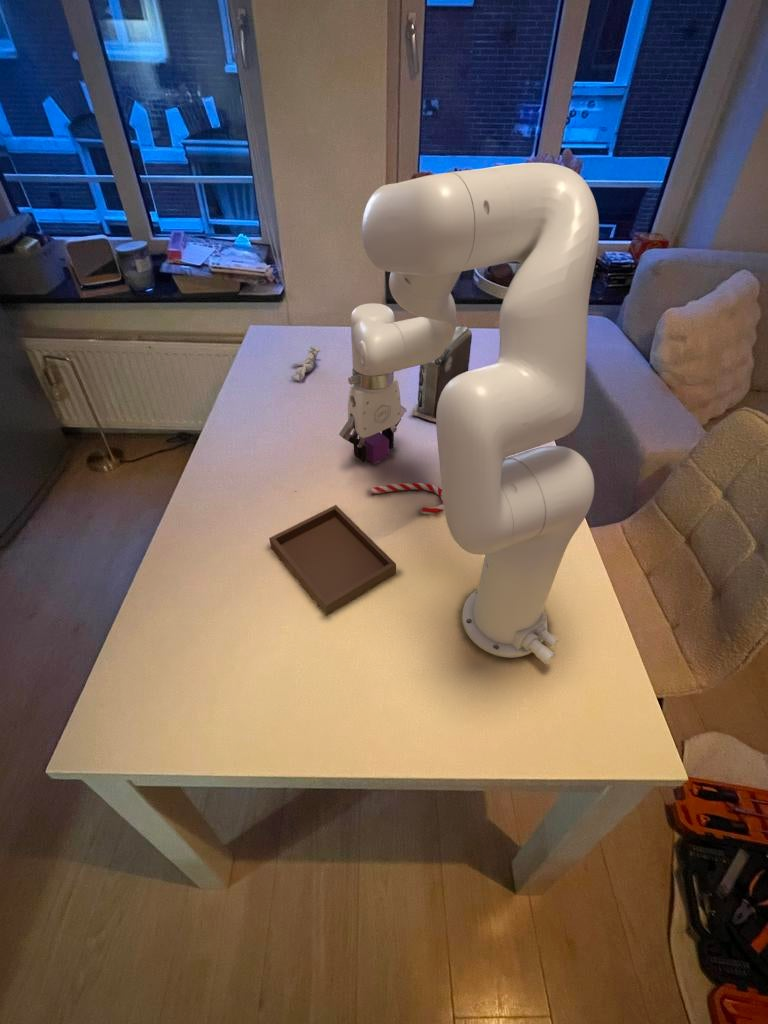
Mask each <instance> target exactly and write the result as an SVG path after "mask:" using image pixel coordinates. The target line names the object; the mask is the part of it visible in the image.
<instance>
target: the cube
mask: <svg viewBox="0 0 768 1024" xmlns="http://www.w3.org/2000/svg"><path fill="white" fill-rule="evenodd" d="M359 437H360V436H359V435H358V438H359ZM363 445H365V447H366V460H368V461H369V462H371V463H372V464H373V465H374V464H377V463H379V462H381V461H383V460H385V459H387V458H389V457H390V449H389V439H388V438H387V437H385V436H384V435H383V434H382V432H378V433H376V434H374V435H372V436H369V437H366V438H365V441H364V444H363Z"/></svg>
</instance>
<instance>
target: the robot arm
mask: <svg viewBox="0 0 768 1024" xmlns="http://www.w3.org/2000/svg"><path fill="white" fill-rule="evenodd" d="M598 211H599V210H598V206H597V203H596V200H595V197H594V194H593V192H592V189H591V187H590V186H589V185H588V183H587V182H586V181H585V179H584V178H583V177H582V176H581V175H580V174H578V173H577V172H576V171H575V170H573V169H571V168H568V167H566V166H565V165H560V164H556V163H550V162H523V163H512V164H503V165H496V166H491V167H485V168H477V169H467V170H459V171H449V172H443V173H434V174H428V175H425V176H424V175H423V176H420V177H416V178H411V179H408V180H404V181H400V182H395V183H389V184H384V185H381V186H380V187H378V188H377V189H376V190H375V191H374V192H373V193H372V194H371V196H370V197H369V199H368V201H367V203H366V206H365V208H364V211H363V216H362V221H361V237H362V243H363V248H364V251H365V254H366V256H367V257H368V259H369V261H370V262H371V263H372V265H374V266H375V267H376V268H378V269H379V270H381V271H384V272H387V273H390V274H389V279H388V288H389V291H390V294H391V296H392V298H393V299H394V301H395V302H396V303H397V305H398V306H400V307H401V308H402V309H403V310H404V311H406V312H408V313H410V314H413V315H415V316H418V317H413V318H408V319H402V320H398V321H396V320H395V319H396V318H395V314H394V311H393V310H392V308H391V307H389V306H387V305H385V304H382V303H376V302H369V303H368V302H367V303H363V304H360V305H358V306H356V307H355V308H354V309H353V310H352V311H351V314H350V336H351V337H350V339H351V361H352V371H351V374H352V375H351V376H350V377H348V378H347V382H348V384H349V385H350V387H349V391H348V400H347V421H346V423H345V424H344V426H343V427H342V429H341V430H340V431H339V433H338V435H339V436H340V437H341V438H342V439H343V440H345V441H347V442H349V443H350V444H352V445H353V446H352V447H353V456H354V457H355V458H356V459H358V461H360V462H361V463H365V462H367V458H366V447H365V445H363V444H364V441H365V438H366V437H369V436H372V435H374V434H376V433H378V432H380V433H381V434H383V435H384V436H385V437H387V438H388V439H389V451H390V450H394V441H395V433H396V432H397V429H398V428H397V427H398V426H399V423H401V421H402V418H403V417H404V415H405V414H406V412H407V408H406V407H404V406H403V405H402V403H401V394H400V393H401V392H400V386H399V382H398V378H397V376H395V375H394V374H395V372H399V371H402V370H405V369H410V368H415V367H418V366H420V365H423V364H427V363H430V362H433V361H434V360H436V359H437V358H439V357H440V356H441V355H442V354H443V352H444V351H445V349H446V348H447V346H448V344H449V343H450V341H451V340H452V338H453V336H454V333H455V330H456V327H457V318H458V317H457V307H456V303H455V299H454V297H453V295H452V291H453V289H454V287H455V286H456V284H457V281H458V279H459V278H460V275H461V274H462V272H466V271H473V270H476V269H481V268H487V267H492V266H497V265H501V264H507V263H513V262H517V263H519V264H520V266H519V268H518V270H517V272H516V273H515V274H514V276H513V278H512V280H511V281H510V283H509V285H508V288H507V290H506V292H505V295H504V297H503V300H502V303H501V306H500V310H499V315H498V316H499V317H498V328H499V329H498V331H499V350H498V358H497V360H496V361H495V362H494V363H493V364H490V365H489V364H488V365H485V366H482V367H478V368H474V369H470V370H468V371H467V372H464V373H462V374H460V375H458V376H456V377H455V378H453V379H452V380H451V381H450V382H449V383H448V384H447V385H446V386H445V388H444V389H443V391H442V393H441V395H440V398H439V401H438V405H437V412H436V422H435V424H436V425H435V428H436V440H437V450H438V463H439V473H440V485H441V489H442V496H443V505H444V510H443V511H444V517H445V520H446V525H447V527H448V530H449V533H450V536H451V537H452V538H453V540H454V542H455V543H456V544H457V546H458V547H460V549H461V550H463V551H464V552H466V553H468V554H472V555H477V556H478V555H479V556H483V555H484V558H483V562H482V568H481V572H480V575H479V576H480V577H479V581H478V586H477V589H476V590H474V591H473V592H472V593H471V594H469V596H468V597H467V598H466V600H465V601H464V605H463V608H462V614H461V620H462V625H463V628H464V631H465V632H466V634H467V636H468V637H469V638H470V640H471V641H472V642H473V643H474V644H475V645H476V646H478V648H480V649H482V650H483V651H485V652H486V653H489V654H491V655H494V656H497V657H502V658H511V659H513V658H520V657H524V656H528V655H530V654H531V653H533V654H534V655H535V656H536V658H538V659H539V660H540V661H541V662H542V663H543V664H545V665H548V664H550V663H551V661H552V660H553V659H554V658H555V656H556V653H554V652H553V651H552V650H551V649H550V648H548V647H547V646H546V645H544V644H543V642H545V643H546V644H547V645H548V646H550V647H551V648H554V647H555V646H556V645H557V644H558V642H559V639H558V638H556V636H554V635H553V634H552V633H550V632H549V631H548V616H547V615H546V613H545V610H544V608H545V605H546V603H547V600H548V597H549V595H550V592H551V590H552V587H553V583H554V581H555V578H556V575H557V572H558V570H559V568H560V565H561V563H562V560H563V558H564V554H565V552H566V550H567V547H568V545H569V544H570V543H571V540H572V538H573V536H574V535H575V534H576V532H577V531H578V529H579V528H580V526H581V525H582V524H583V521H584V520H585V518H586V516H587V515H588V512H589V511H590V509H591V507H592V503H593V500H594V496H595V478H594V474H593V470H592V467H591V466H590V464H589V463H588V461H587V460H586V459H585V457H584V456H583V455H581V454H580V453H579V452H577V451H576V450H574V449H572V448H569V447H567V446H561V445H547V446H544V445H546V444H549V443H551V442H555V441H557V440H559V439H562V438H564V437H566V436H568V435H570V434H571V433H572V432H573V431H574V430H576V428H577V427H578V425H579V424H580V422H581V419H582V417H583V412H584V404H585V392H586V374H587V373H586V372H587V354H588V353H587V350H588V349H587V348H588V332H589V331H588V319H589V318H588V317H589V316H588V315H589V303H590V294H591V289H592V281H593V277H594V272H595V266H596V262H597V255H598V248H599V239H600V220H599V219H600V218H599V212H598ZM351 433H352V434H351ZM359 436H360V437H359Z"/></svg>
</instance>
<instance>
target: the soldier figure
mask: <svg viewBox="0 0 768 1024" xmlns="http://www.w3.org/2000/svg"><path fill="white" fill-rule="evenodd" d="M309 348H310V349H308V350H307V352H308V355H307V356H306V358H305V359H304V362H303V361H302V362H295V363H293V364H292V366H294V367H295V368H296V367H297V366H298V367H299V368H296V371H295V374H296V376H294V375H292V376H290V377H291V379H292V380H294V381H296V382H300V379H301V378H304V377H305V374H306V373H308V372H310V371H312V370H313V368H314V365H315V364H314V362H315V361H316V359H317V357H318V354H319V353H320V352H321V349H320V348H319V347H317V346H314V345H310V346H309Z"/></svg>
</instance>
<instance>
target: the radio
mask: <svg viewBox="0 0 768 1024" xmlns="http://www.w3.org/2000/svg"><path fill="white" fill-rule="evenodd" d="M472 340H473V333H472V331H471V330H470V328H469V327H467V326H466V325H464V324H460V325H459V326H456V330H455V333H454V336H453V338H452V340H451V341H450V343H449V344H448V346H447V348H446V349H445V351H444V352H443V354H442V355H441V356H440V357H439V358H437V359H436V360H434V361H433V362H430V363H427V364H423V365H419V372H418V392H417V404H416V405H415V406H414V407H413V409H412V411H411V413H412V414H411V415H412V416H415V417H419V418H422V419H425V420H428V421H430V422H434V423H436V412H437V405H438V401H439V398H440V395H441V393H442V391H443V389H444V388H445V386H446V385H447V384H448V383H449V382H450V381H451V380H452V379H453V378H455V377H456V376H458V375H460V374H462V373H464V372H467V371H469V367H470V360H471V359H470V358H471V350H472V349H471V347H472Z"/></svg>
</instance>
